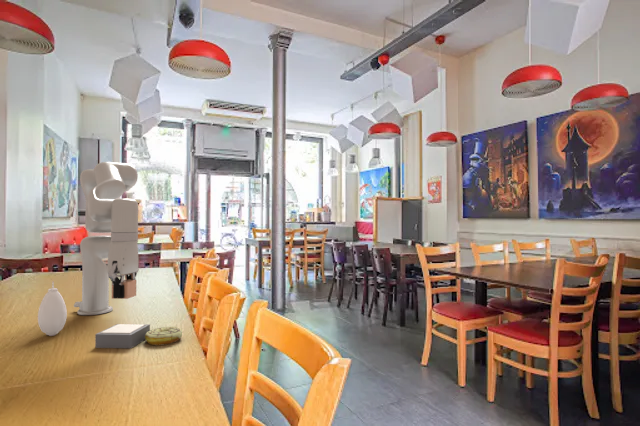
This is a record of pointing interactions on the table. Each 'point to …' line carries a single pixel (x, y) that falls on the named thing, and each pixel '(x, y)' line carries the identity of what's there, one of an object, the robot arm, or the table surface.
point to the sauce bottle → (52, 312)
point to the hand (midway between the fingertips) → (124, 295)
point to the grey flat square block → (121, 336)
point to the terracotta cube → (128, 289)
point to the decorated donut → (163, 335)
